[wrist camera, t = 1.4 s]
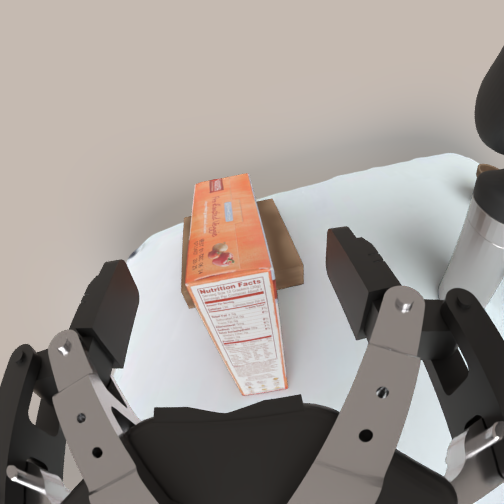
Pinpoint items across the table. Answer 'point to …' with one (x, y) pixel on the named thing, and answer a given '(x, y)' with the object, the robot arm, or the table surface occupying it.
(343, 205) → the table surface
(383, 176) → the table surface
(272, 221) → the walnut base
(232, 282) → the cracker box
